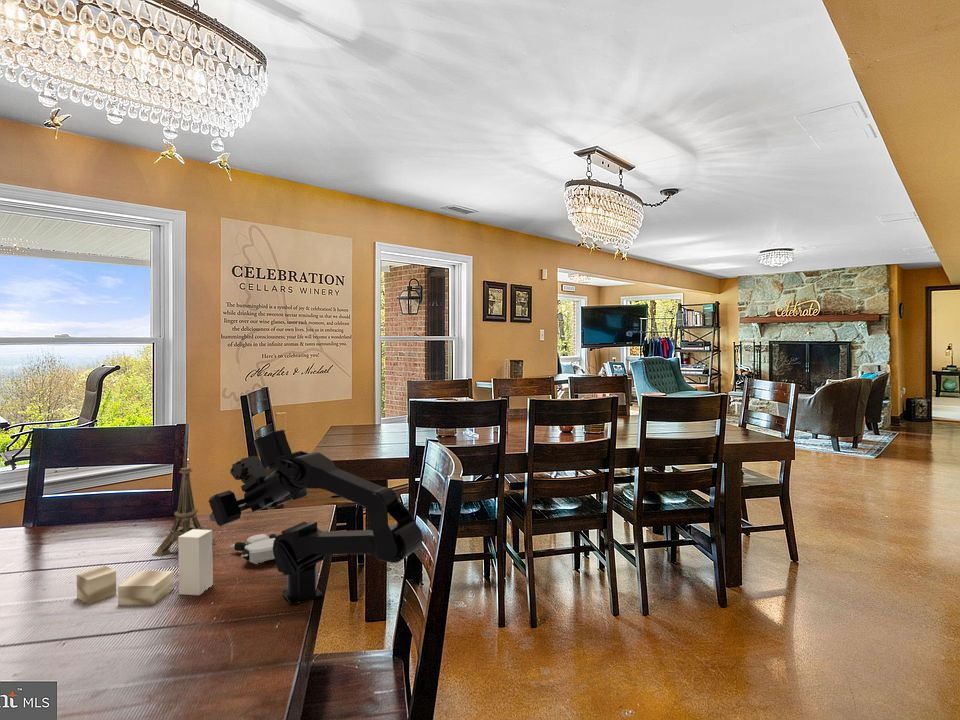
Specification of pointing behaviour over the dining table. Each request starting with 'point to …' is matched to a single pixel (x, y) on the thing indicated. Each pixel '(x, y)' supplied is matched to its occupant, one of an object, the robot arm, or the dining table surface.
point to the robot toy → (257, 548)
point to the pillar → (195, 562)
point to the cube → (96, 584)
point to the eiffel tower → (182, 514)
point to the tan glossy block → (145, 588)
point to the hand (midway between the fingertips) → (228, 512)
